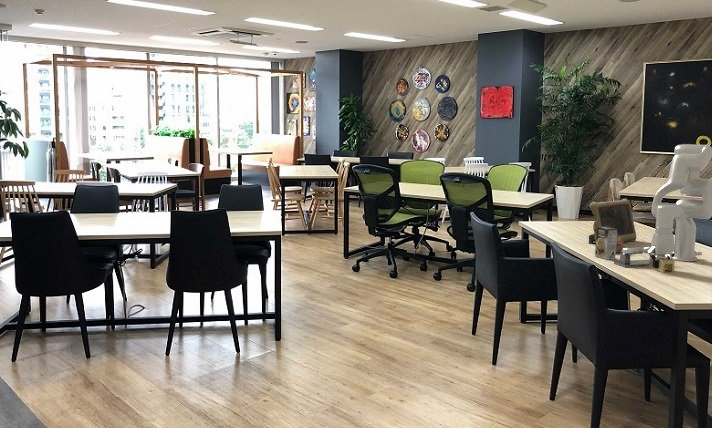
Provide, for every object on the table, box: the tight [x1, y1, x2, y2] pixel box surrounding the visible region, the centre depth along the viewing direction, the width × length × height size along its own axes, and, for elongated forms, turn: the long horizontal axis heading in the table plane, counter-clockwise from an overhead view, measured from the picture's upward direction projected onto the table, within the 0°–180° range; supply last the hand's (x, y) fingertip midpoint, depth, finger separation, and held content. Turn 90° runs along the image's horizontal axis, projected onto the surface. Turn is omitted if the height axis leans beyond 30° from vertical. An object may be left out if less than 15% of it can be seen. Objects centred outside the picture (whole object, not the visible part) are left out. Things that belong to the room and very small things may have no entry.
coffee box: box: [594, 226, 618, 261], centre depth 345 cm, size 9×6×16 cm
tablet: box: [588, 198, 637, 245], centre depth 388 cm, size 33×14×25 cm, turn 126°
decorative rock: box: [616, 235, 625, 253], centre depth 362 cm, size 13×11×10 cm
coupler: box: [648, 256, 676, 273], centre depth 318 cm, size 10×6×6 cm, turn 13°
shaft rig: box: [613, 246, 666, 268], centre depth 330 cm, size 26×9×8 cm, turn 103°
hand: (661, 267), depth 319 cm, fingers closed on coupler, 6 cm apart
